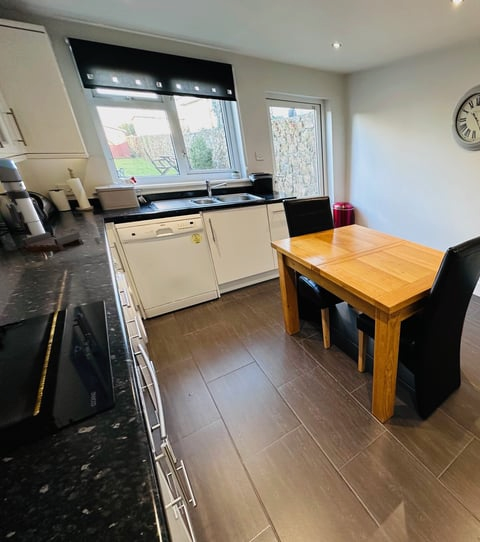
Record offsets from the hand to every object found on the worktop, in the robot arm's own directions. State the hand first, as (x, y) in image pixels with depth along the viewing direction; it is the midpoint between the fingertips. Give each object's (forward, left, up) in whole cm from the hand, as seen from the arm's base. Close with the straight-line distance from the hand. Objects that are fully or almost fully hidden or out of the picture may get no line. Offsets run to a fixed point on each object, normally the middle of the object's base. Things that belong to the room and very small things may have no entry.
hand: (35, 232), depth 156 cm
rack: (+16, -9, -6) cm, 19 cm away
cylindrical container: (0, 0, -6) cm, 6 cm away
